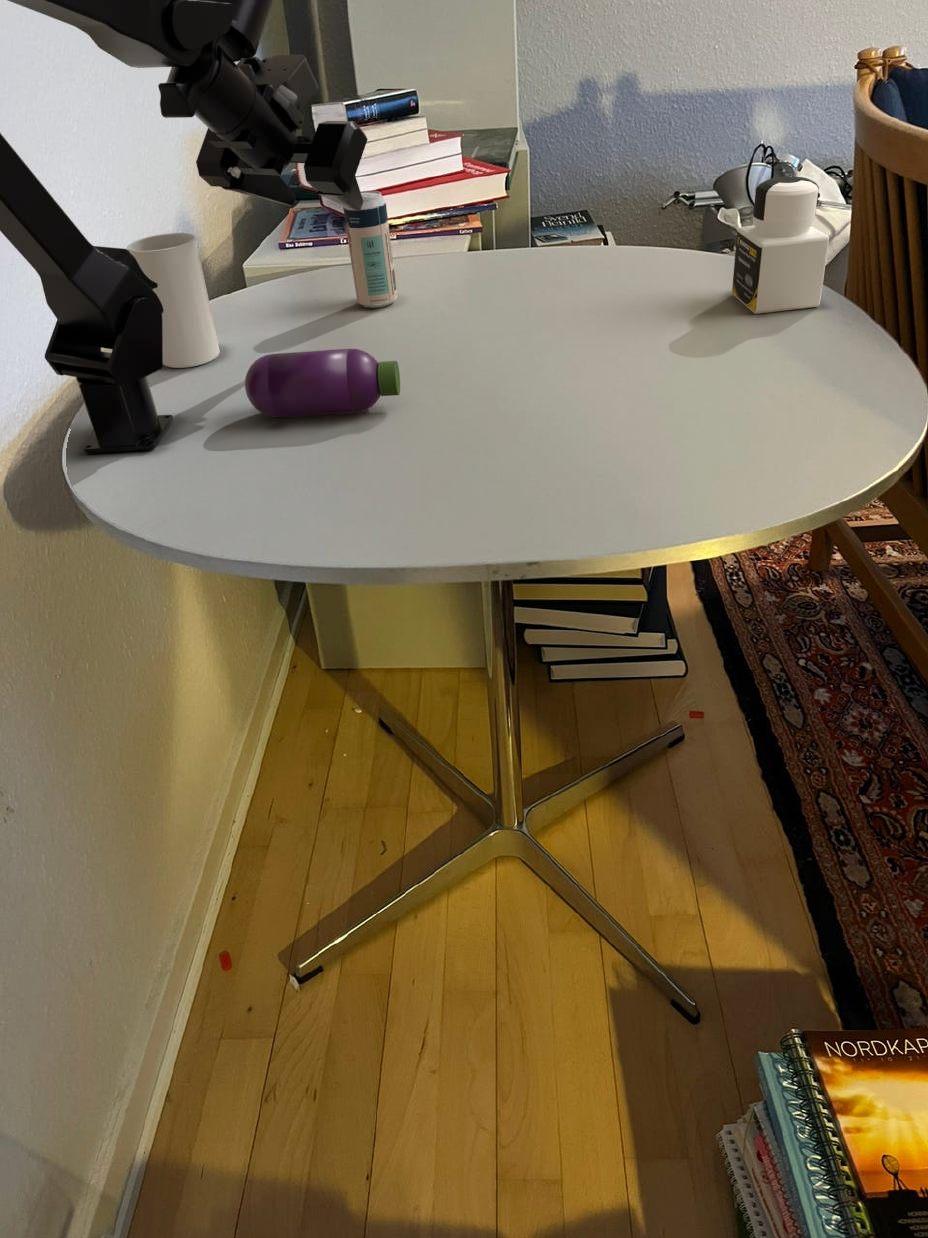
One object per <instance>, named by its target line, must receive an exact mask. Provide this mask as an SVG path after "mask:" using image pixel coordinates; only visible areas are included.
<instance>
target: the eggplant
mask: <svg viewBox="0 0 928 1238" xmlns="http://www.w3.org/2000/svg"><path fill="white" fill-rule="evenodd" d="M244 389H245V393H246V396H247V399H248V401H249V402H250V404H251V405H252V406H253V407H254V409H256V410H257V411H258V412H259V413H261V414H263V415H265V416H269V417H273V418H291V417H305V416H308V417H309V416H322V415H323V416H324V415H338V414H356V413H362V412H364V411H368V409H370V408H371V407H373V406H374V405H376V403H377V402H378V401H379V399H380V398H381V397H393V396H400V394H401V376H400V367H399V363H398V361H397V360H387V361H377V359H376V358H375V357H374V356H373V355H371V354H370V353H368V352H366V351H365V350H362V349H358V348H339V349H325V350H323V349H322V350H309V351H295V352H279V353H270V354H266V355H263V356H260V357H258V358H257V359H256V360H254V361H253V363H252V364H251V365H250V367H249V368H248V370H247V372H246V374H245V379H244Z"/></svg>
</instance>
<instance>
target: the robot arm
mask: <svg viewBox="0 0 928 1238" xmlns="http://www.w3.org/2000/svg"><path fill="white" fill-rule="evenodd" d="M7 1H8V2H10V3H13V4H16V5H18V6H21V7H24V8H26V9H28V10H31V11H34V12H36V13H39V14H42V15H44V16H46V17H50V18H52V19H54V20H57V21H60V22H62V23H65V24H68V25H70V26H72V27H75V28H77V29H78V30H80V31H82V32H83V33H85V34H86V35H87V36H89V38H90V39H91V41H93V42H94V44H95V45H96V46H97V47H98V48H99V49H100V50H102V51H103V52H104V53H107V54H108V55H110V56H111V57H113V58H115V59H117V60H118V61H120V62H121V63H123V64H125V65H126V66H128V67H130V68H135V69H136V68H137V69H150V68H152V69H153V68H170V70H169V73H168V76H167V79H166V82H160V83H158V86H157V88H158V91H159V95H160V98H159V99H160V100H159V108H160V113H161V116H162V117H163V118H165V119H170V118H171V119H175V118H179V119H181V118H182V119H183V118H184V119H185V118H186V119H187V118H194V116H195V117H196V118H197V119H198V120H200V121H201V122H202V123H203V125H205V126H206V127H207V129H206V132H205V134H204V138H203V141H202V144H201V147H200V149H199V152H198V155H197V158H196V160H195V164H196V168H197V172H198V173H197V174H198V176H199V177H200V178H201V179H202V180H203V181H204V182H205V183H207V184H208V186H210V187H214V188H215V187H217V188H218V187H219V188H221V189H223V190H225V191H231V192H235V193H240V194H242V195H246V196H247V195H248V196H251V197H255V198H259V199H263V200H266V201H271V202H275V203H277V204H282V205H286V206H288V207H289V206H290V207H293V206H294V204H295V202H296V195H295V194H294V192H293V191H292V189H291V188H290V187H289V185H288V184H287V183H286V182H285V180H284V179H283V178H282V177H281V176H282V173H283V170H284V167H285V166H287V165H288V164H303V170H304V176H305V181H306V182H307V183H308V185H310V187H311V188H313V189H315V190H317V195H319V196H321V197H323V198H326V199H328V200H331V201H333V202H335V203H337V204H340V205H342V206H343V205H345V206H347V207H350V208H352V209H355V210H361V207H362V204H363V198H362V195H361V190H360V186H359V183H358V180H357V179H358V178H357V176H356V174H357V172H358V169H359V167H360V164H361V161H362V157H363V155H364V151H365V148H366V145H367V144H368V140H369V139H368V137H367V135H366V132H364V130H363V129H362V128H361V127H360V126H359V125H358V123H357V122H356V121H355V120H325V121H322V122H319V123H318V124H317V126H316V129H315V133H314V135H298V134H296V133H297V130H301V129H302V126H303V123H304V121H305V116H304V115H303V114H302V113H301V112H300V110H302V109H303V107H304V106H305V105H306V103H307V102H308V101H309V100H310V98H312V96H313V95H316V94H317V92H318V91H319V88H320V87H319V84H318V83H317V80H316V77H315V75H314V73H313V72H312V69H311V67H310V64H309V63H308V59H307V58H306V56H305V54H278V55H274V56H271V57H263V58H262V59H260V58H259V57H258V56H256V54H257V52H258V49H259V46H260V43H261V40H262V37H263V35H264V31H265V28H266V25H267V22H268V19H269V17H270V13H271V11H272V7H273V6H274V5H273V4H274V2H275V0H7ZM236 62H237V64H236ZM0 233H2V235H3V236H4V237H5V238H6V240H7V241H8V242H9V243H10V244H11V245H12V246H13V247H14V248H15V249H16V251H18V253H19V254H20V255H21V256H22V257H23V259H25V260H26V261H27V263H29V265H30V267H32V268H33V269H34V270H35V272H36V273H37V275H38V276H39V278H40V281H41V285H42V290H43V294H44V298H45V302H46V304H47V307H48V308H49V310H50V311H51V313H52V314H53V315H54V316H55V318H56V322H55V325H54V327H53V331H52V333H51V335H50V336H51V337H50V339H49V342H48V343H47V347H46V350H45V353H44V359H45V361H46V362H47V363H48V365H49V366H50V367H51V369H52V370H53V371H54V373H55V374H56V376H57V375H58V376H62V377H63V376H68V377H73V378H75V379H76V382H77V385H78V388H79V391H80V394H81V397H82V399H83V400H82V401H83V403H84V406H85V409H86V413H87V415H88V417H89V421H90V424H91V427H92V429H93V432H94V433H93V434H92V435H91V437H89V439H88V440H87V441H86V442H85V444H84V445H83V446H82V450H83V452H84V454H97V453H99V454H100V453H116V452H128V451H129V452H131V451H132V452H133V451H146V450H147V451H150V450H153V449H155V448H156V447H157V446H158V444H159V443H160V441H161V440H162V438H163V437H164V435H165V434H166V432H167V431H168V429H169V428H170V427H171V425H172V423H173V422H174V417H173V416H174V415H172V414H158V411H157V407H156V403H155V401H154V398H153V393H152V391H151V387H150V384H149V380H148V376H150V375H152V374H154V373H156V372H158V371H160V370H162V369H163V366H164V364H163V320H162V314H163V312H164V309H163V306H162V303H161V301H160V299H159V297H158V296H157V294H156V293H155V292H154V290H153V289H154V288H157V287H158V284H157V283H155V282H154V281H152V280H150V279H149V278H148V277H147V276H146V275H145V274H144V272H143V271H142V269H141V268H140V266H139V264H138V262H137V261H136V259H135V257H134V256H133V255H132V254H131V253H130V252H129V251H128V249H127V248H121V247H111V246H101V245H93V244H92V243H91V242H90V241H89V240H88V239H87V238H86V236H85V235H84V234H83V233H82V231H81V230H80V229H79V228H78V226H76V224H75V223H74V222H73V220H72V219H71V218H70V216H69V215H68V214H67V213H66V212H65V211H64V209H63V208H62V207H61V206H60V204H59V203H58V202H57V201H56V200H55V198H54V197H53V196H52V194H51V193H50V192H49V191H48V190H47V189H46V187H45V186H44V185H43V183H42V182H41V181H40V179H38V177H37V176H36V175H35V174H34V173H33V171H32V170H31V169H30V167H29V166H28V165H27V164H26V163H25V161H24V159H22V158H21V157H20V155H19V154H18V152H16V150H15V149H14V147H13V146H12V145H11V144H10V143H9V141H8V140H7V139H6V138H5V136H4V135H3V134H2V133H1V132H0ZM102 349H108V350H111V352H110V351H109V352H107V351H102Z"/></svg>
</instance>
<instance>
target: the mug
mask: <svg viewBox="0 0 928 1238" xmlns="http://www.w3.org/2000/svg"><path fill="white" fill-rule="evenodd" d="M126 249H127V250H128V251H129V252H130V253H131V254H132V255H133V256H134V257H135V259H136V261H137V262H138V264H139V266H140V268H141V269H142V271H143V272H144V274H145V275H146V276H147V277H148V278H149V279H150V280H152V281H154V282H155V283H157V284H158V287H157V288H154V289H153V290H154V292H155V293H156V294H157V296H158V297H159V299H160V301H161V303H162V306H163V309H164V312H163V314H162V320H163V366H166V367H168V368H172V369H173V368H174V369H185V368H192V367H197V366H201V365H204V364H205V365H206V364H207V363H210V362H211V361H214V360H215V359H216V358H217V357H218V356H219V355H220V353H221V352H220V347H219V342H218V341H219V340H218V337H217V332H216V331H217V330H216V326H215V322H214V317H213V313H212V307H211V303H210V299H209V294H208V289H207V285H206V281H205V276H204V271H203V266H202V262H201V258H200V257H201V256H200V253H199V249H198V246H197V241H196V237H195V235H194V234H191V233H187V232H186V233H185V232H170V233H169V232H168V233H161V234H155V235H150V236H146V237H143V238H140V239H137V240H134V241H132V242H131V243H129V244H127V246H126Z"/></svg>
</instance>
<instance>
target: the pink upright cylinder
mask: <svg viewBox="0 0 928 1238" xmlns="http://www.w3.org/2000/svg"><path fill="white" fill-rule="evenodd" d="M360 192H361V195H362V198H363V204H362V207H361V210H355V209H352V208H350V207H347V206H345V205H342V206H343V207H342V210H343V216H344V224H345V231H346V236H347V242H348V248H349V249H348V250H349V256H350V263H351V270H352V276H353V277H352V278H353V283H354V290H355V297H356V303H358V304H359V305H361V306H363V307H364V308H367V309H379V308H384V307H388V306H390V305H392V304H393V303H394V302H395V301H396V300H397V298H398V291H397V289H398V288H397V282H396V274H395V266H394V258H393V250H392V242H391V241H392V240H391V234H390V225H389V218H388V217H389V216H388V210H387V209H388V208H387V201H386V200H385V198H384V196H383V195H382V193H381V192H380V191H378V190H362V191H361V190H360Z"/></svg>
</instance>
